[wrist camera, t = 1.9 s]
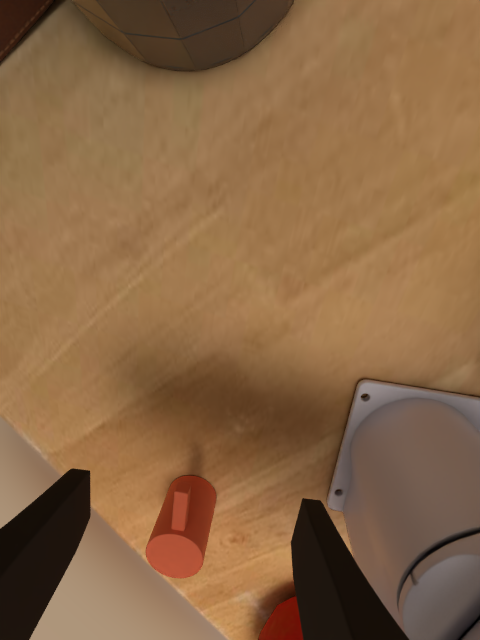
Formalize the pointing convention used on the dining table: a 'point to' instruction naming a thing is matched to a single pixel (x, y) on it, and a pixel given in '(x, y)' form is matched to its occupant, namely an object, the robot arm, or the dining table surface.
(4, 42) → the letter holder
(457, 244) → the dining table surface
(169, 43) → the pot
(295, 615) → the apple
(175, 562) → the orange cylinder with nub
